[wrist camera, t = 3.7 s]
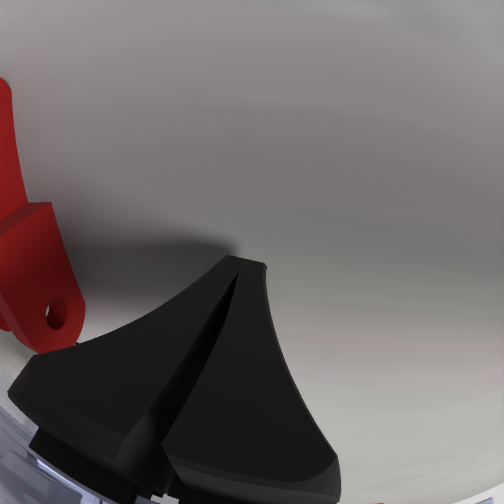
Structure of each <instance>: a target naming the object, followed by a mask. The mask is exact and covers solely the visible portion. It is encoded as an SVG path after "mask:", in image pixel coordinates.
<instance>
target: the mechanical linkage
mask: <svg viewBox="0 0 504 504" xmlns="http://www.w3.org/2000/svg"><path fill="white" fill-rule="evenodd" d="M48 305H49V312H48V315H47V317H46V310H47V307H48ZM84 317H85V302H84V299H83V297H82V294H81V292H80V289H79V287H78V284H77V282H76V279H75V277H74V274H73V271H72V269H71V266H70V263H69V260H68V257H67V254H66V252H65V249H64V245H63V242H62V239H61V236H60V233H59V229H58V226H57V222H56V219H55V215H54V211H53V207H52V203H51V202H39V203H28V200H27V196H26V192H25V188H24V184H23V179H22V174H21V169H20V164H19V158H18V152H17V146H16V139H15V131H14V122H13V110H12V93H11V90H10V88H9V86H8V85H7V83H6V82H5V81H4V80H3V79H2V78H0V329H1V330H4V331H12V332H13V334H14V335H15V337H16V338H17V339H18V340H19V341H20V342H21V343H22V344H24V345H25V346H27V347H29V348H30V349H32V350H34V351H35V352H37V353H39V354H42V353H46V352H50V351H54V350H58V349H62V348H66V347H70V346H73V345H74V344H75V343H76V341H77V339H78V337H79V335H80V333H81V330H82V327H83V323H84Z"/></svg>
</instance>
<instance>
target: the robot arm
mask: <svg viewBox="0 0 504 504" xmlns="http://www.w3.org/2000/svg"><path fill="white" fill-rule="evenodd" d="M266 269H267V266H266V265H265V263H262V262H257V261H253V260H248V259H244V258H239V257H235V256H230V255H227V256H225V257H224V258H223V259H222V260H221V261H219V262H218V263H217V264H216V265H215V266H214V267H213V268H211V269H210V270H209V271H208V272H207V273H205V274H204V275H203V276H202V277H201V278H199V279H198V280H197V281H195V282H194V283H193V284H192V285H190V286H189V287H188V288H186V289H185V290H184V291H182V292H181V293H179V294H178V295H176V296H175V297H173V298H172V299H171V300H169V301H168V302H166V303H165V304H163V305H161V306H160V307H158V308H157V309H155V310H153V311H151V312H150V313H148V314H146V315H144V316H143V317H141V318H139V319H137V320H135V321H133V322H131V323H129V324H127V325H125V326H123V327H120V328H118V329H116V330H114V331H112V332H109V333H107V334H105V335H102V336H99V337H97V338H94V339H91V340H88V341H85V342H82V343H80V344H74V345H73V346H70V347H66V348H62V349H58V350H54V351H50V352H46V353H42V354H37V355H33V357H32V358H31V359H30V360H29V362H28V363H27V364H26V366H25V367H24V368H23V370H22V371H21V373H20V374H19V375H18V377H17V378H16V380H15V381H14V382H13V384H12V385H11V387H10V388H9V390H8V391H7V392H8V397H9V398H10V400H11V401H12V402H13V403H14V404H15V405H16V406H17V407H18V408H19V409H20V410H21V411H22V412H23V413H24V414H25V415H26V416H27V417H26V419H25V420H24V422H23V424H20V423H19V422H18V421H17V420H16V419H15V418H13V417H12V416H11V415H10V414H9V413H8V412H6V410H4V409H3V408H2V407H1V406H0V504H159V503H156V502H154V501H151V500H150V499H151V497H152V494H153V495H155V496H158V497H161V498H162V497H163V495H164V494H166V493H167V495H168V496H170V497H173V498H176V499H179V503H178V504H336V503H338V502H339V501H340V495H341V475H340V467H339V461H338V456H337V454H336V453H335V451H334V450H333V448H332V447H331V446H330V444H329V443H328V441H327V440H326V438H325V437H324V435H323V433H322V432H321V430H320V429H319V427H318V426H317V424H316V422H315V421H314V419H313V417H312V415H311V414H310V412H309V410H308V408H307V407H306V405H305V403H304V401H303V399H302V397H301V395H300V393H299V391H298V389H297V386H296V384H295V382H294V380H293V378H292V376H291V374H290V371H289V369H288V367H287V364H286V362H285V359H284V356H283V354H282V351H281V348H280V345H279V342H278V339H277V336H276V332H275V329H274V325H273V321H272V317H271V313H270V307H269V302H268V296H267V288H266ZM476 504H493V498H492V497H491V498H488V499H486V500H483V501H481V502H479V503H476Z"/></svg>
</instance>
